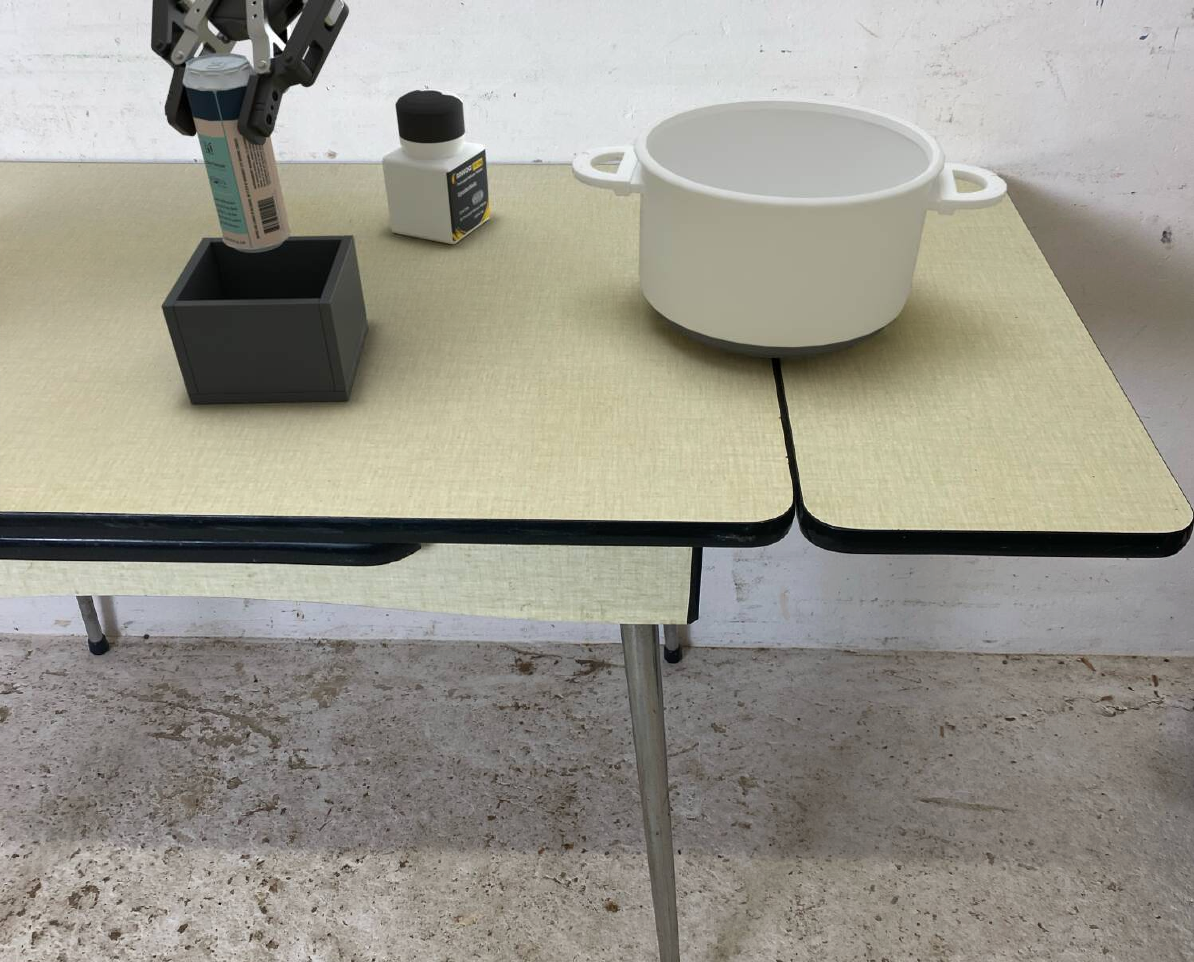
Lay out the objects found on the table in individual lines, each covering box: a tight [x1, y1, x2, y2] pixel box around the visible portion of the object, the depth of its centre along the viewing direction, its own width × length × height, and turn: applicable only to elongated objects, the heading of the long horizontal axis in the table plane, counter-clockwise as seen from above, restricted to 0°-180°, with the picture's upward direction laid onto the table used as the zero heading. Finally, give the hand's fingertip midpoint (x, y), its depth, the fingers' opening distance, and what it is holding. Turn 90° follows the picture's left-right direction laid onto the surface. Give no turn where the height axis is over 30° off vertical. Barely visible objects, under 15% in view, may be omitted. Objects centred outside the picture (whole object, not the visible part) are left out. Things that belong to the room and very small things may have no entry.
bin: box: [161, 234, 369, 405], centre depth 79 cm, size 12×12×8 cm
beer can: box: [183, 52, 292, 253], centre depth 71 cm, size 5×5×12 cm
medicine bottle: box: [381, 88, 491, 245], centre depth 98 cm, size 7×7×12 cm
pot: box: [571, 96, 1008, 359], centre depth 84 cm, size 33×23×14 cm
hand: (214, 133), depth 69 cm, fingers closed on beer can, 4 cm apart
